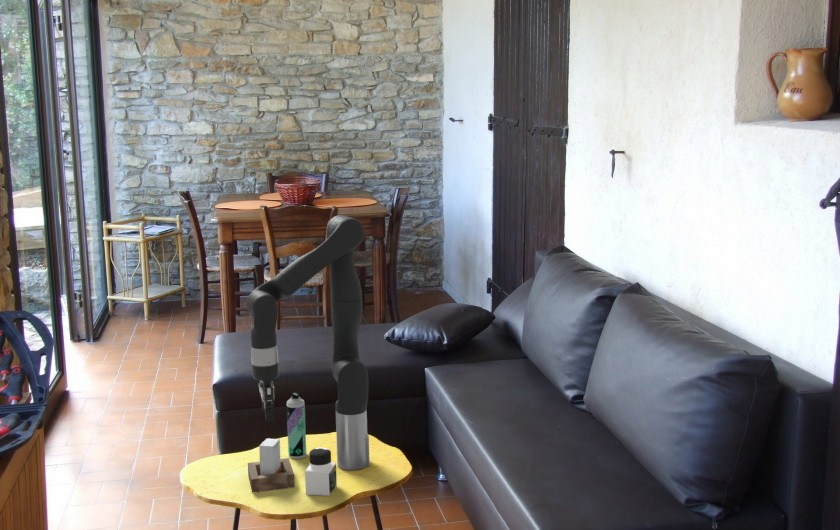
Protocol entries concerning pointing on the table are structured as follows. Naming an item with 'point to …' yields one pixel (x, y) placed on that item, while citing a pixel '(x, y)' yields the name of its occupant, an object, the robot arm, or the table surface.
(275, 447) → the skincare box
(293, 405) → the spray can
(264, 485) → the walnut well block
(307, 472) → the medicine bottle
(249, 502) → the table surface
